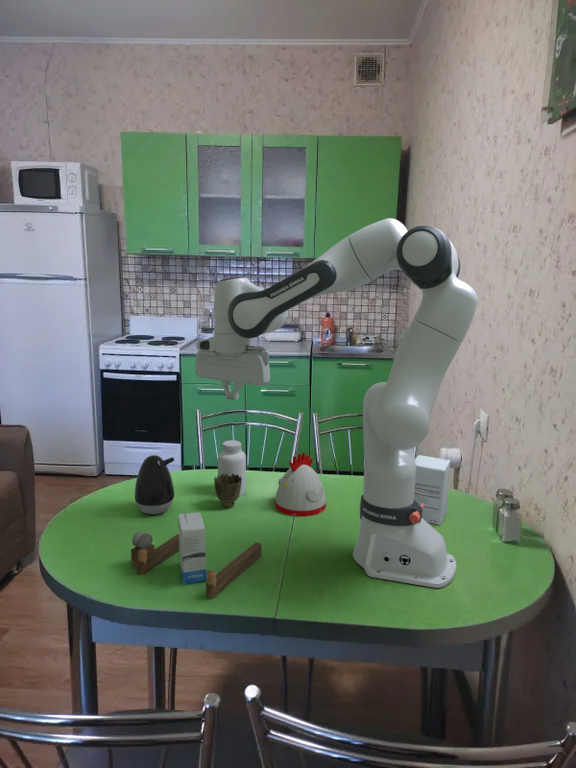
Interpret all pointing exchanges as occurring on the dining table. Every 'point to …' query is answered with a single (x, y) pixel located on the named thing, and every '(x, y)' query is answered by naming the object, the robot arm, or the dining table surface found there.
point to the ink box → (192, 547)
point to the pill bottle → (233, 462)
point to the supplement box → (432, 487)
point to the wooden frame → (150, 557)
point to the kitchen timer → (300, 489)
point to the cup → (227, 489)
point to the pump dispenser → (154, 485)
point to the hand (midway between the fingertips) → (232, 398)
